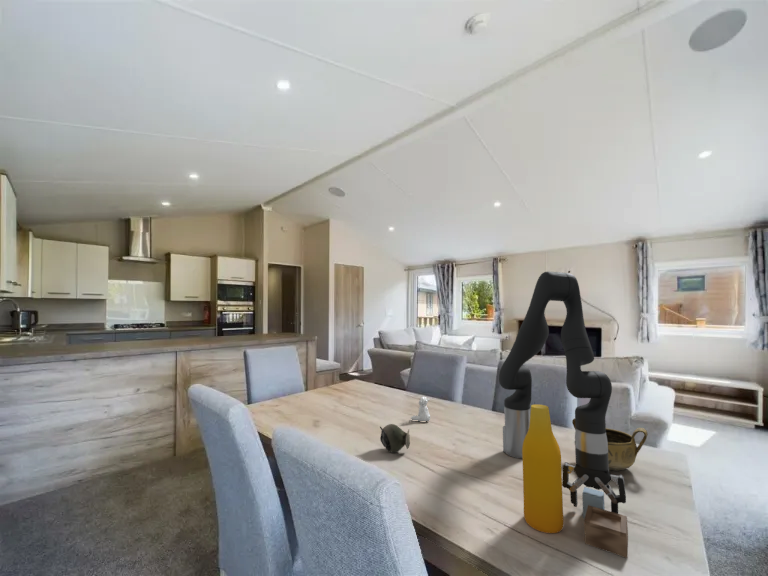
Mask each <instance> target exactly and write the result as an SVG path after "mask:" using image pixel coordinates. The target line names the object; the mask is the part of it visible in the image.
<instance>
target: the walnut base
mask: <svg viewBox="0 0 768 576" xmlns="http://www.w3.org/2000/svg"><path fill="white" fill-rule="evenodd" d="M583 521H584V527H583V528H584V544H586V545H588V546H590V547H594V548H597V549H599V550H603V551H606V552H608V553H611V554H614V555H617V556H620V557H623V558H625V559H628V556H629V554H628V551H629V535H628V534H629V530H628V516H627V515H624V514H620V513H618V514H617V513H614V512H611V510H610V511H609V510H607V509H605V510H603V509H600V508H596V507H593V506H589V505H588V507H587V511H586V516H585V518H584V520H583Z"/></svg>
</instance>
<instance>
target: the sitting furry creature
mask: <svg viewBox="0 0 768 576" xmlns="http://www.w3.org/2000/svg"><path fill="white" fill-rule="evenodd" d="M429 401H430V397H426V396H421V397H420V399H419V401H418V405H419V407H418V413H417V415H413V416H411V417H410V420H411V419H412V420H418V421H429V420H430V421H431V414H430V411H429V408H428V406H427V405H428V402H429ZM430 421H429V422H430Z"/></svg>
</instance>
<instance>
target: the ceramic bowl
mask: <svg viewBox="0 0 768 576" xmlns="http://www.w3.org/2000/svg"><path fill="white" fill-rule="evenodd" d="M571 422H572V426H573V428H574V429H575V428H576V427H575V417H574V418H573V419H572V421H571ZM638 433H643V438H642V439H641V441H640V442H639V444H638V446H637V442H636V439H635V436H636V435H637V434H638ZM648 434H649V433H648V431H647V430H646V429H645V428H644V427H638V428H636V429H635V430H634V431H633V432H632V434H629V433H627V432H624V431H622V430H617V429H614V428H608V427H606V436H607V442H608V462H609V471H615V472H617V471H624V470H626V469H629V468H631V467H632V466H633V465H634V463H635V462H636V458H637V456H638V453H639V452H640V451H641V449H642V447H643V446H644V444H645V443H646V440H647V437H648V436H649V435H648Z"/></svg>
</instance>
